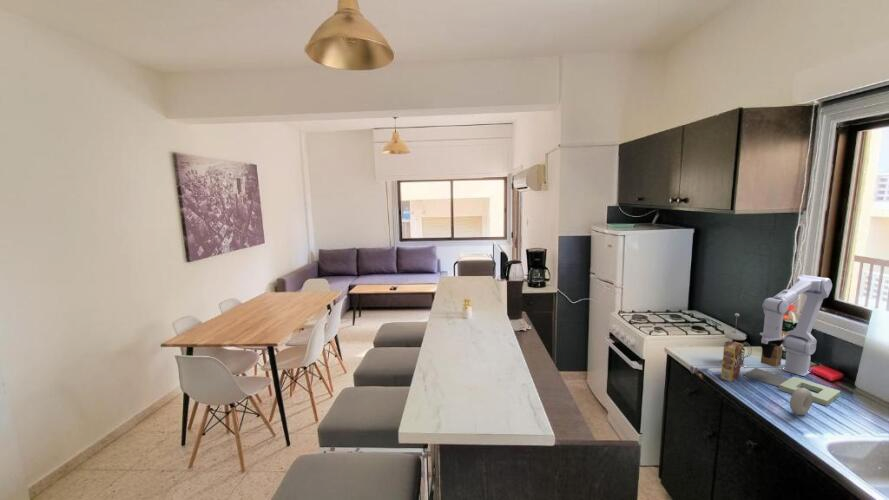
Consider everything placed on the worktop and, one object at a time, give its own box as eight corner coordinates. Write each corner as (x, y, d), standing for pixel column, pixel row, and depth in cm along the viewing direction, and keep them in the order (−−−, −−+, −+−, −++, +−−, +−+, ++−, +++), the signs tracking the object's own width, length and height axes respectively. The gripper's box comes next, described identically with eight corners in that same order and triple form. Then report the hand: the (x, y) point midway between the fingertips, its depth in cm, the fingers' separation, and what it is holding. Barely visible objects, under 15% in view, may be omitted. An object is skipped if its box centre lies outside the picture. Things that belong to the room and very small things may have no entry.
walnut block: (765, 360, 159) (767, 343, 158) (780, 364, 155) (782, 347, 154) (760, 362, 157) (762, 345, 156) (775, 367, 152) (777, 349, 151)
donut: (798, 420, 127) (801, 393, 126) (786, 414, 131) (789, 389, 129) (812, 412, 131) (816, 387, 130) (800, 408, 135) (803, 383, 133)
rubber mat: (755, 368, 166) (756, 367, 166) (790, 379, 155) (790, 378, 155) (743, 375, 160) (743, 374, 160) (777, 387, 149) (778, 386, 149)
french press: (728, 357, 177) (732, 309, 174) (755, 367, 167) (760, 316, 163) (715, 361, 174) (719, 311, 171) (741, 371, 163) (746, 319, 160)
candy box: (732, 382, 154) (735, 348, 152) (720, 378, 158) (723, 345, 156) (740, 376, 159) (743, 343, 157) (728, 372, 163) (731, 340, 161)
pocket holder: (793, 380, 154) (793, 376, 154) (839, 395, 142) (840, 390, 142) (778, 389, 148) (779, 384, 147) (826, 405, 135) (827, 401, 135)
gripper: (768, 320, 161) (765, 349, 163) (753, 326, 154) (750, 356, 156) (789, 324, 155) (786, 354, 156) (774, 331, 148) (771, 362, 150)
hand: (769, 355), depth 156 cm, fingers closed on walnut block, 5 cm apart
